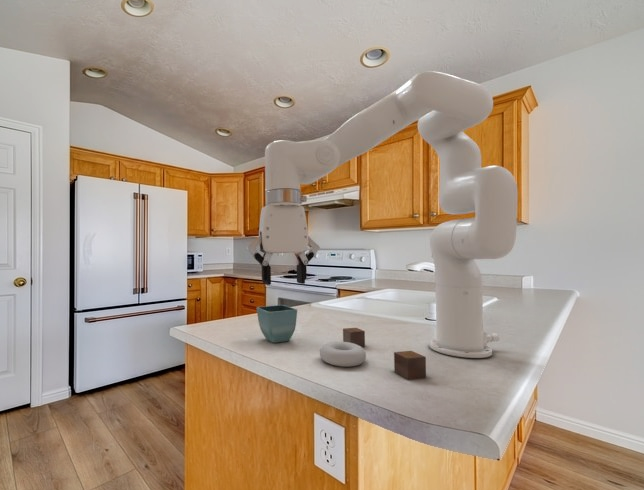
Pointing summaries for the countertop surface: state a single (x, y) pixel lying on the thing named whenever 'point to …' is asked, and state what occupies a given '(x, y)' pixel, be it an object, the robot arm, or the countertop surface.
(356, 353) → the donut
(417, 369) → the walnut block
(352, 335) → the walnut block
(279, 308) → the flower pot
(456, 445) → the countertop surface
